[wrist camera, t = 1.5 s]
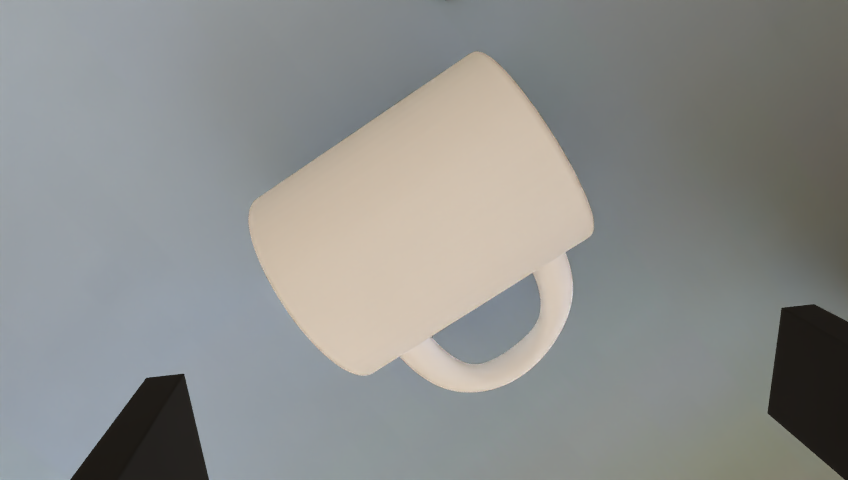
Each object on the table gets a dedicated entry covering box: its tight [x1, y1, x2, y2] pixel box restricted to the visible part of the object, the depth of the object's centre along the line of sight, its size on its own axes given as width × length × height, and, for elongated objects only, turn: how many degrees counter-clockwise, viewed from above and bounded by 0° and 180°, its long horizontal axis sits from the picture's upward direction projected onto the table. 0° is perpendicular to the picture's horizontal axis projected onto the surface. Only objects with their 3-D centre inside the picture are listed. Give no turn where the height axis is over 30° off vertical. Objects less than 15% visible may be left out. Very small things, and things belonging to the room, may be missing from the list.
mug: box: [248, 51, 594, 392], centre depth 21 cm, size 12×10×8 cm
